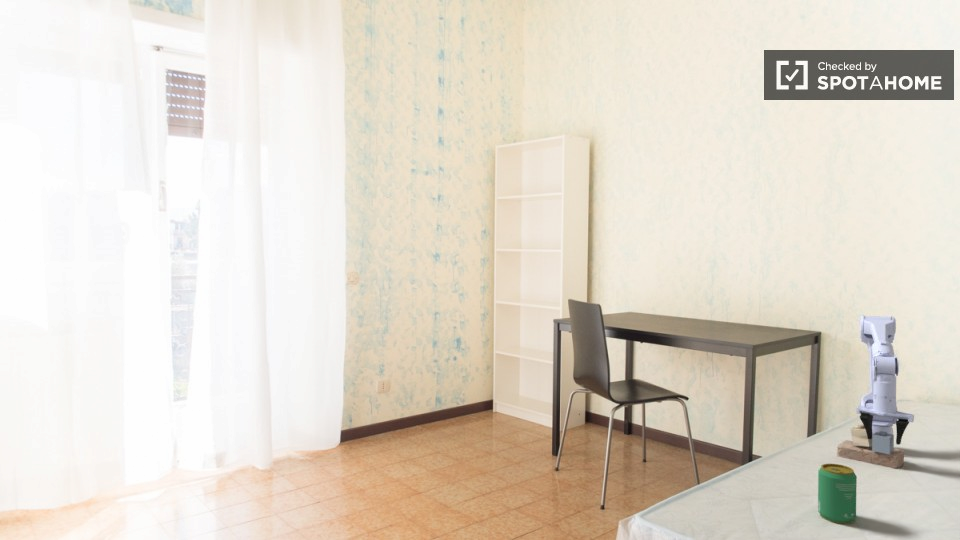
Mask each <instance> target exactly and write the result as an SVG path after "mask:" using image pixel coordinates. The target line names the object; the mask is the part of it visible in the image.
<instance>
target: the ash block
mask: <svg viewBox="0 0 960 540" xmlns="http://www.w3.org/2000/svg"><path fill="white" fill-rule="evenodd" d="M850 433H851V438H852V439H851V441H853V445H856V446H867V447H869V446H871V445H872V438H871V439H868V438H867V433H866V430H865V427H864V425H863V424H857V425H854V426H853V427H852V428H850ZM872 435H873V431H872Z"/></svg>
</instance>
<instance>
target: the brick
mask: <svg viewBox="0 0 960 540" xmlns="http://www.w3.org/2000/svg"><path fill="white" fill-rule="evenodd" d="M895 448H896V447H894V451H893V452H892V453H891V454H890V455H889V454H884V453H879V452H874V451H872V445H871V446H869V447H867V446H856V445H853V441H852V440H849V439H848V440H845V439H844V440H843V441H842V442H840V443H839V444H838V445H837V449H836V453H837V454H836V457H839V458H842V459H848V460H853V461H856V462H862V463H867V464H870V465H871V464H872V465H876V466H879V467H886V468H890V469H898V468H900V467H901V466H903V464H904V461H905V451H904V450H903V449H900V448H899V449H898V448H897V449H895Z"/></svg>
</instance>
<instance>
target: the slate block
mask: <svg viewBox="0 0 960 540" xmlns="http://www.w3.org/2000/svg"><path fill="white" fill-rule="evenodd" d="M894 439H895V435H894V434H893V435H892V434H887V432H884V431H879V432H876V433H874V434H873V435H872V451H874V452H879V453H884V454H889V455H890V454H891V453H892V452H893V451H894V448H895V447H894V446H895V445H894V443H895V440H894Z"/></svg>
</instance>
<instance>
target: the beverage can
mask: <svg viewBox="0 0 960 540" xmlns="http://www.w3.org/2000/svg"><path fill="white" fill-rule="evenodd" d="M817 477H818V479H817V481H818V484H817V486H818V487H817V511H818V513H819V516H820V517H821V518H822V519H824V520H826V521H828V522H831V523H835V524H840V525H841V524H842V525H848V524H852V523H854V521H855V520H856V518H857V483H858V482H857V481H858V479H857V475H856V473H855V471H854V469H853V468H852V467H849V466H847V465H842V464H838V463H823V464H821V466H820V468H819V469H818V475H817Z"/></svg>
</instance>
